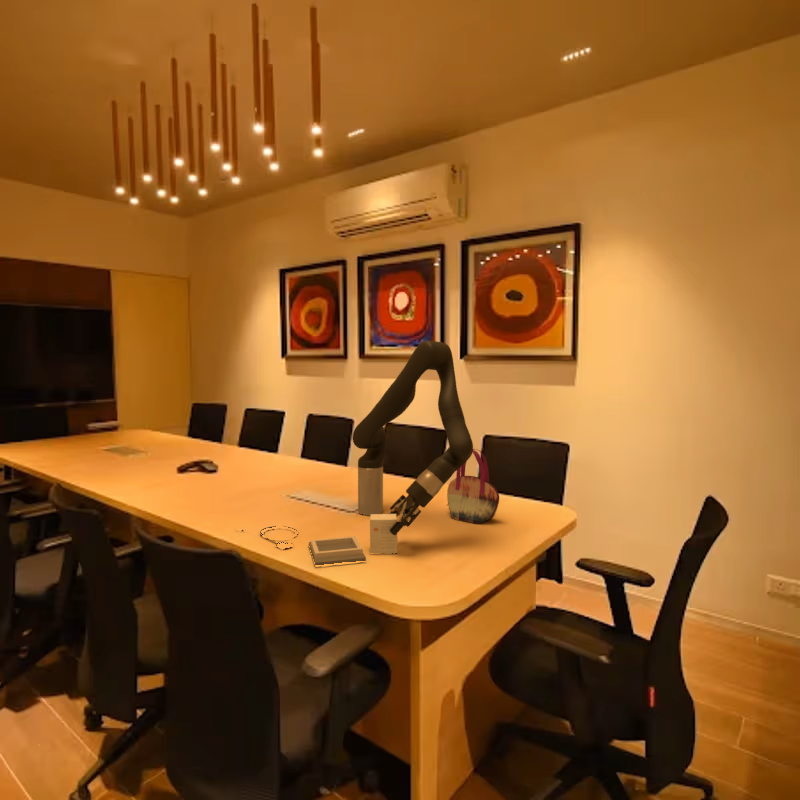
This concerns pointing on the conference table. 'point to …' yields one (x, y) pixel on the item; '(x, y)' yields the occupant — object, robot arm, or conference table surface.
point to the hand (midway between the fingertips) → (388, 528)
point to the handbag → (472, 494)
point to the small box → (382, 533)
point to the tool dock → (336, 550)
